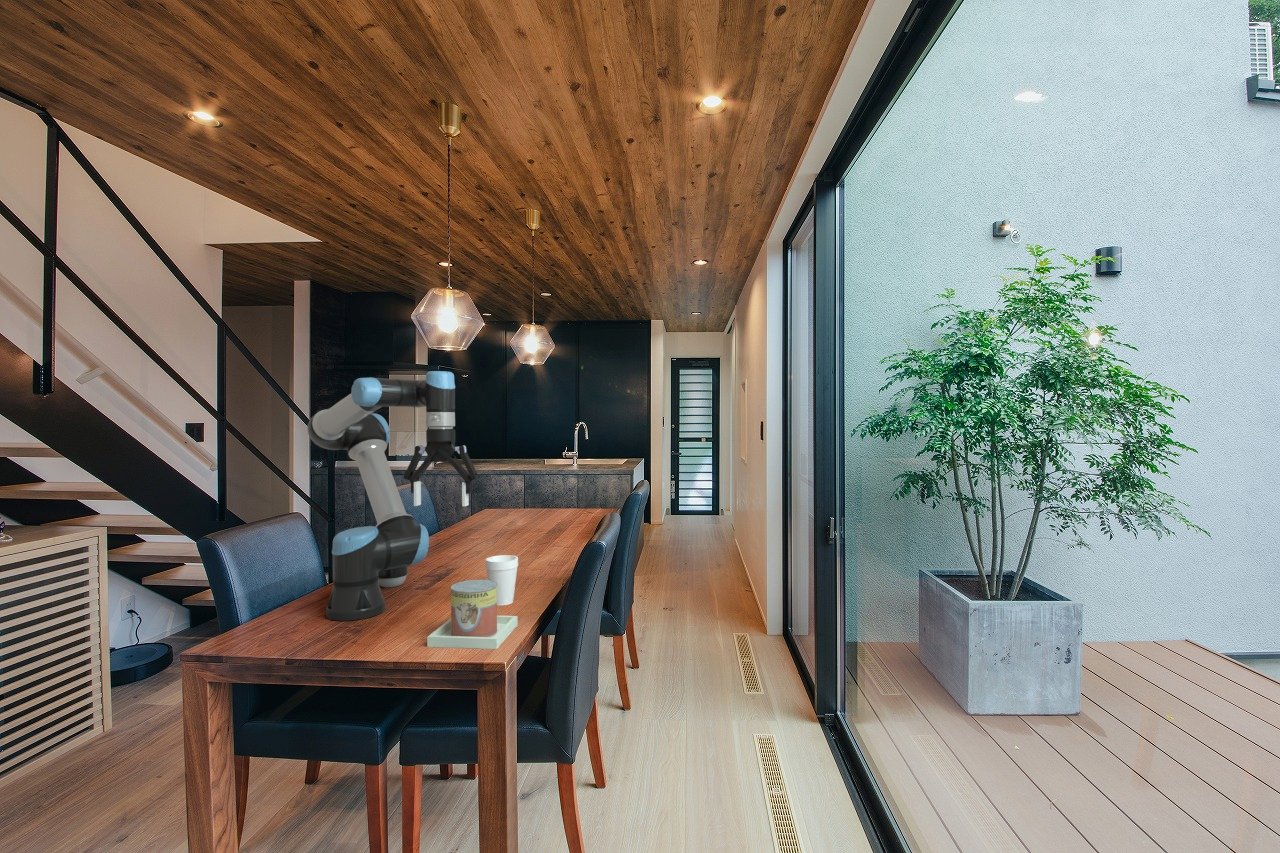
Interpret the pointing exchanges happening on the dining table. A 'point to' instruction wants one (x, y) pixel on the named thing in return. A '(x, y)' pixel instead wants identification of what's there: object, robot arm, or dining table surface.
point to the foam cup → (503, 576)
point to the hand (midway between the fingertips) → (441, 505)
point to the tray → (444, 638)
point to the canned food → (474, 608)
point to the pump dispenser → (392, 577)
